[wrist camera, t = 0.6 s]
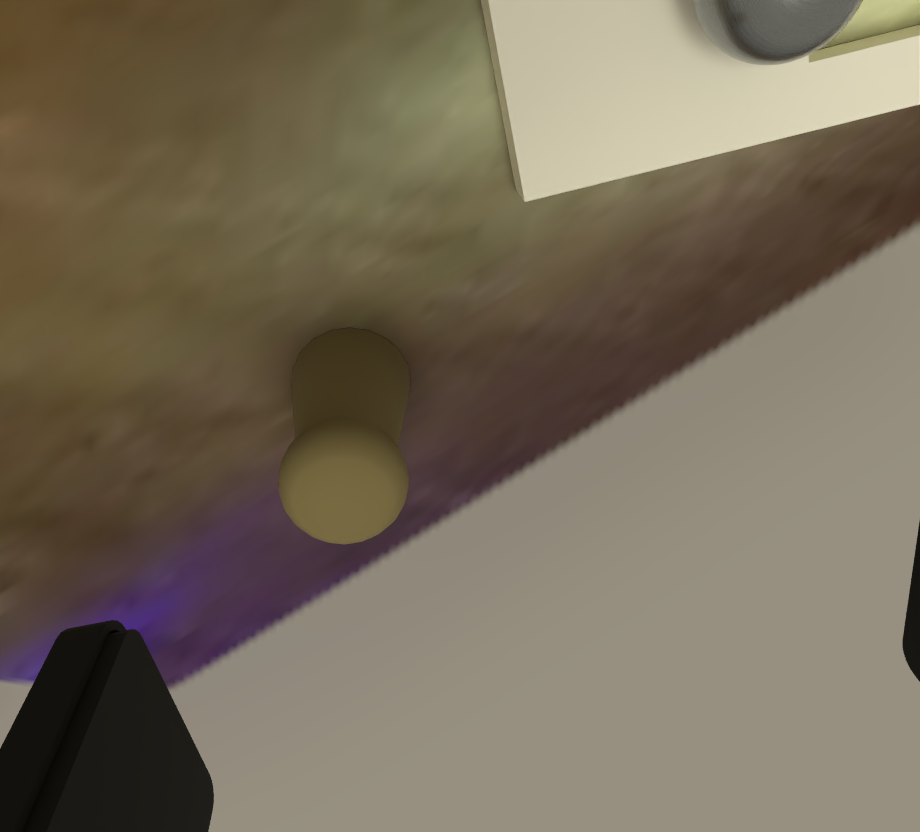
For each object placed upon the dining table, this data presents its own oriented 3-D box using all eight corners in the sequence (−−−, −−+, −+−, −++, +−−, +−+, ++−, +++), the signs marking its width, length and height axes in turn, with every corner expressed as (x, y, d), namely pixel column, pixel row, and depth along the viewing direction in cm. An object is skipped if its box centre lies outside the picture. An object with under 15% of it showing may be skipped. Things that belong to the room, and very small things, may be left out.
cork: (426, 347, 39) (441, 459, 29) (391, 447, 42) (394, 581, 32) (308, 312, 38) (283, 419, 28) (278, 418, 40) (246, 549, 30)
